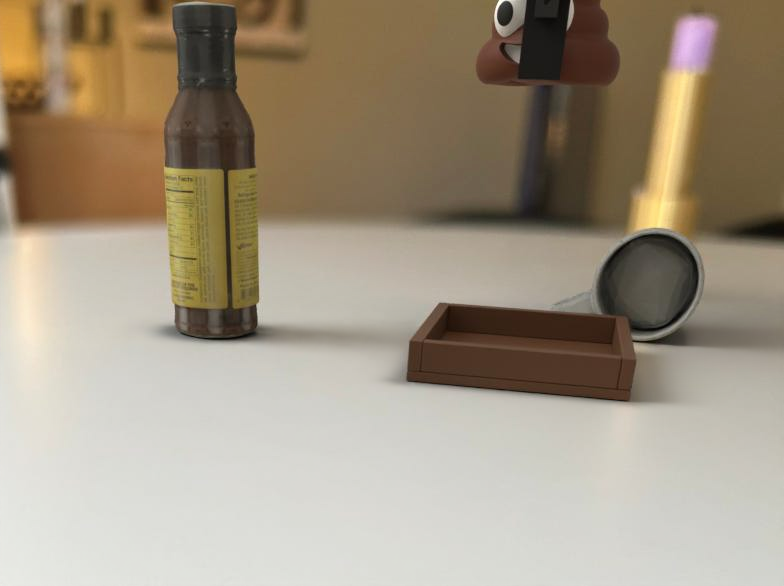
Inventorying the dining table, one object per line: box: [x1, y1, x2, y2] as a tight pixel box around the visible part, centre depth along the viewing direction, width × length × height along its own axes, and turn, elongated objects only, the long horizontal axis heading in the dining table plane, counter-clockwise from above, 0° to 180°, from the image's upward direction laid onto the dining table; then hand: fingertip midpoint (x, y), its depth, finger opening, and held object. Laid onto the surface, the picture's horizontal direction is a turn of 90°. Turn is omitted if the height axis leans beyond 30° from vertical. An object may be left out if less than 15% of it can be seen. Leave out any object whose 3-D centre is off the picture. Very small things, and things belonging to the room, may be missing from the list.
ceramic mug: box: [550, 227, 706, 342], centre depth 75 cm, size 11×8×8 cm
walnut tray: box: [405, 302, 638, 401], centre depth 65 cm, size 13×14×2 cm
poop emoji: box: [475, 0, 621, 89], centre depth 67 cm, size 10×8×9 cm
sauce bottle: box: [163, 1, 260, 339], centre depth 67 cm, size 6×6×20 cm
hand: (542, 81), depth 69 cm, fingers closed on poop emoji, 9 cm apart
